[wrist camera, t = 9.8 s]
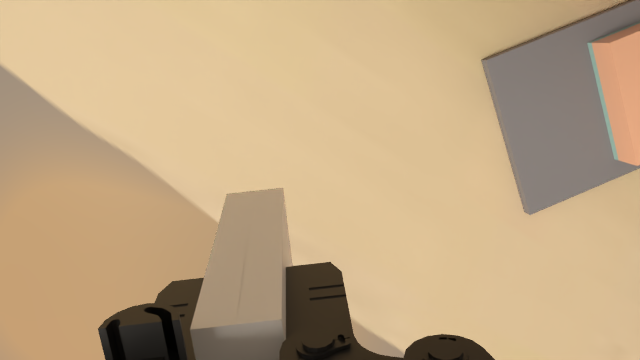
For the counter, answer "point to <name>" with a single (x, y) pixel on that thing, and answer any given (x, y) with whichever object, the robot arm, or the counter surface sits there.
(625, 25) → the mat
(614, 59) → the peach box
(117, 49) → the counter surface
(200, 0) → the counter surface
